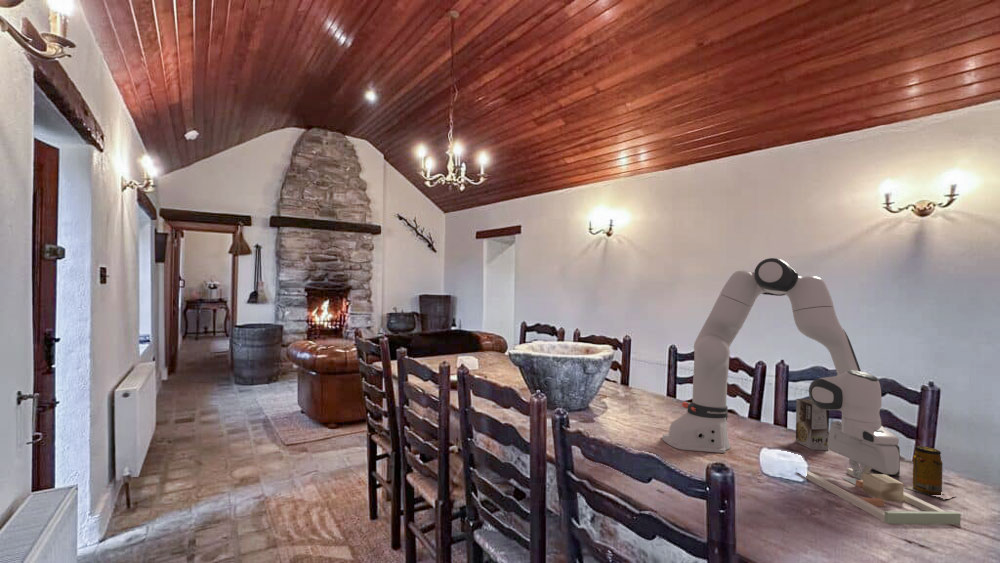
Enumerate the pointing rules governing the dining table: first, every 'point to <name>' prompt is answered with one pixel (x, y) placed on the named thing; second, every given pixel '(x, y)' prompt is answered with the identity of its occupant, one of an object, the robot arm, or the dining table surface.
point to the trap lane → (891, 517)
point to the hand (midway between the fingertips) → (859, 477)
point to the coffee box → (811, 425)
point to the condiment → (927, 471)
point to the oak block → (883, 487)
